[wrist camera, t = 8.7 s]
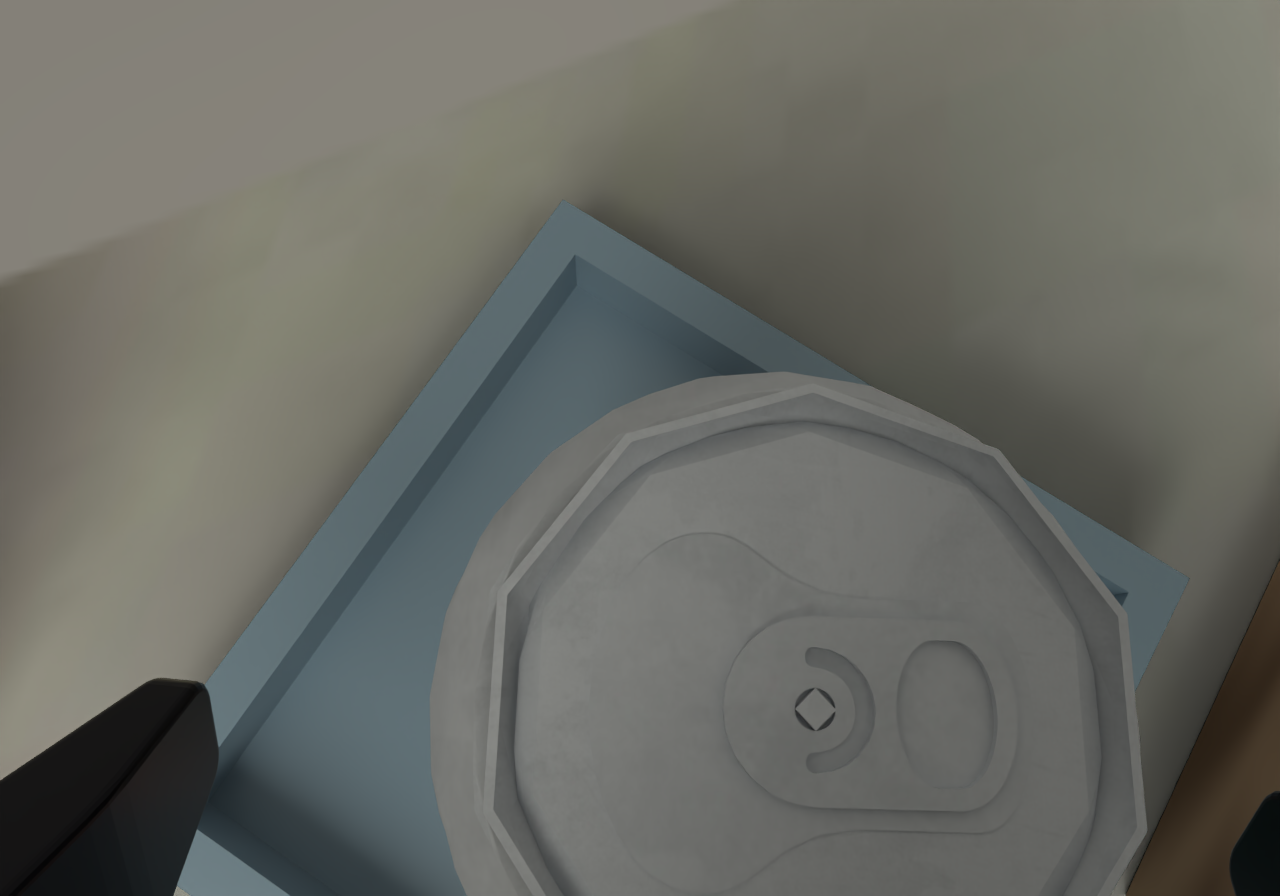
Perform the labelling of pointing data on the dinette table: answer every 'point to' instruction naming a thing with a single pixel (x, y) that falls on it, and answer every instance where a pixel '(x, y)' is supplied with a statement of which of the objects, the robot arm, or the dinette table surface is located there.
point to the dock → (1222, 771)
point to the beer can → (783, 664)
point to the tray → (440, 551)
